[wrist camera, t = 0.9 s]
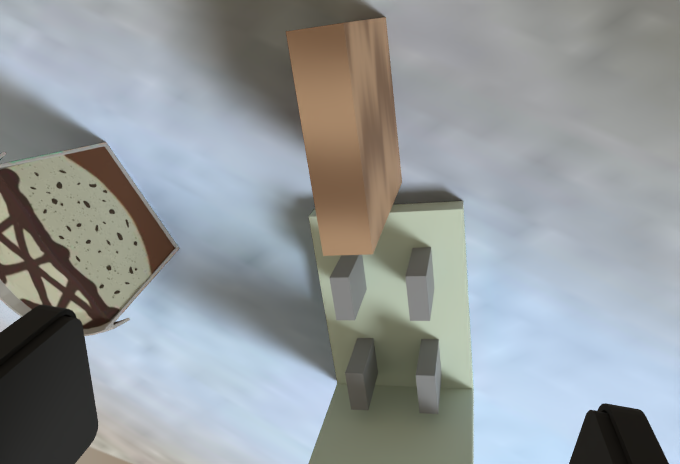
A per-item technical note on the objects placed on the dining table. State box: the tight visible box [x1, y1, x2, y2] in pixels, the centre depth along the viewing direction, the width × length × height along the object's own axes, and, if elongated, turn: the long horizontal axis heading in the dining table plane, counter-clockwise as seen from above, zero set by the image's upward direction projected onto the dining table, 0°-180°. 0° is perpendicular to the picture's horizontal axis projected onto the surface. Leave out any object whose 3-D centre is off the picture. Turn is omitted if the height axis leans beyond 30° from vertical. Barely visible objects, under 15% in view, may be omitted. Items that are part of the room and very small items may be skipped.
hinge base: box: [309, 201, 474, 464], centre depth 30 cm, size 15×10×18 cm, turn 9°
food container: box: [0, 142, 180, 336], centre depth 36 cm, size 12×6×10 cm, turn 31°
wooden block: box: [286, 17, 402, 256], centre depth 27 cm, size 10×3×11 cm, turn 9°
